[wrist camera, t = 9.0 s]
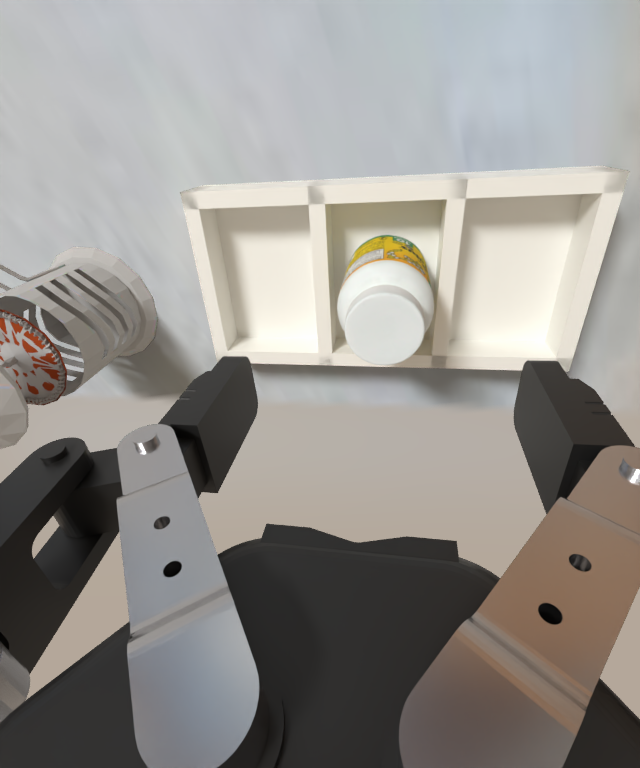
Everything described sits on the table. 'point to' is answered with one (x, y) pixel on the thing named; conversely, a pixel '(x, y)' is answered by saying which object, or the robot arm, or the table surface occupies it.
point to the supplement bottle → (386, 300)
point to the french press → (67, 330)
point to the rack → (436, 242)
